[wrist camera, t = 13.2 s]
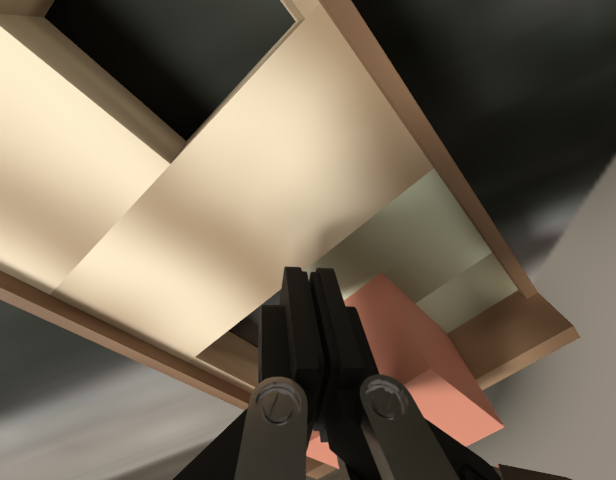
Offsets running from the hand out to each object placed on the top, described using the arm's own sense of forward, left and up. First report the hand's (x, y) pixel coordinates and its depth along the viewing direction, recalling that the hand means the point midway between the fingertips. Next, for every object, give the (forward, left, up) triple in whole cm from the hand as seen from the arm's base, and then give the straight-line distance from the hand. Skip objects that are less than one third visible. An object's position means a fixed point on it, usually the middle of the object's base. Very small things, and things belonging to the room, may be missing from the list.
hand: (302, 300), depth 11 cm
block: (0, +5, -2) cm, 6 cm away
